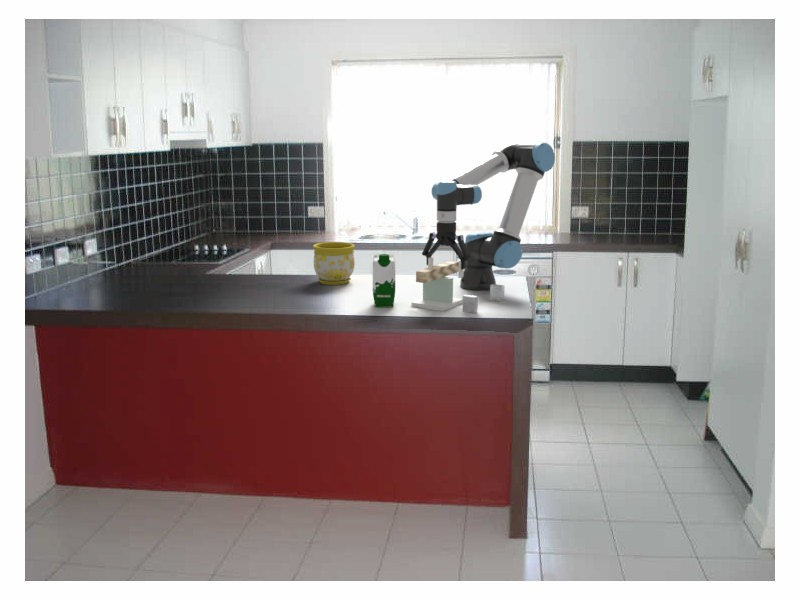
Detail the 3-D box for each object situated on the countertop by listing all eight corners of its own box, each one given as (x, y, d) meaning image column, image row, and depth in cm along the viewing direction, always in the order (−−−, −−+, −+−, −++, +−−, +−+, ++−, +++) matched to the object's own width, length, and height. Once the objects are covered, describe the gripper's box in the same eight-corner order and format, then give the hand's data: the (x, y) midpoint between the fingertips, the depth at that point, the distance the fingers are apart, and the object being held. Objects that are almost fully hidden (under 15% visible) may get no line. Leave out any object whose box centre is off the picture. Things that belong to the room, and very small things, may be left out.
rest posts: (492, 298, 331) (493, 284, 330) (504, 300, 328) (504, 285, 327) (462, 311, 310) (462, 295, 309) (474, 313, 307) (474, 297, 306)
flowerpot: (310, 279, 367) (309, 242, 364) (349, 277, 373) (349, 241, 369) (318, 287, 351) (317, 249, 347) (359, 285, 356) (359, 247, 352)
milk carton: (372, 307, 315) (372, 256, 311) (372, 302, 324) (372, 252, 320) (395, 307, 316) (395, 256, 311) (395, 302, 325) (395, 252, 320)
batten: (449, 270, 330) (450, 260, 329) (458, 271, 328) (458, 261, 327) (416, 281, 309) (416, 271, 308) (425, 283, 307) (425, 272, 306)
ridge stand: (432, 298, 331) (432, 271, 329) (463, 302, 324) (463, 275, 321) (411, 306, 318) (411, 278, 316) (443, 311, 311) (443, 282, 308)
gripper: (413, 220, 322) (413, 273, 327) (470, 225, 309) (469, 280, 314) (423, 218, 328) (423, 270, 333) (479, 222, 315) (478, 277, 320)
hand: (445, 275), depth 324 cm, fingers open, 13 cm apart
